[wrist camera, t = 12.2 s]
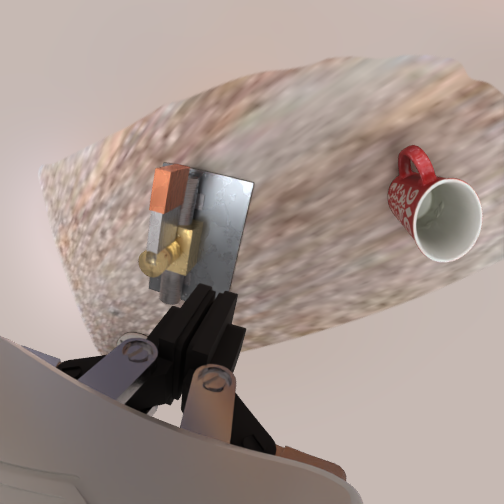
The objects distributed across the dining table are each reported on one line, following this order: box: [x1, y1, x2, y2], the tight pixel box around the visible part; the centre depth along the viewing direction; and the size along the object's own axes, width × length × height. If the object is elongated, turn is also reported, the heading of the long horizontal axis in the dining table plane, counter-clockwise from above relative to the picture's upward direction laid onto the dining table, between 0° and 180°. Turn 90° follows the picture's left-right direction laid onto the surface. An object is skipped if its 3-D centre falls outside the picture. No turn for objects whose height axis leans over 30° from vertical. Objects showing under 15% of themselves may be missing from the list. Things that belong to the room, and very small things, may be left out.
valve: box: [149, 162, 254, 304], centre depth 44 cm, size 22×14×5 cm, turn 167°
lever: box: [138, 164, 190, 277], centre depth 37 cm, size 14×4×6 cm, turn 166°
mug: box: [388, 145, 483, 262], centre depth 31 cm, size 13×9×14 cm
